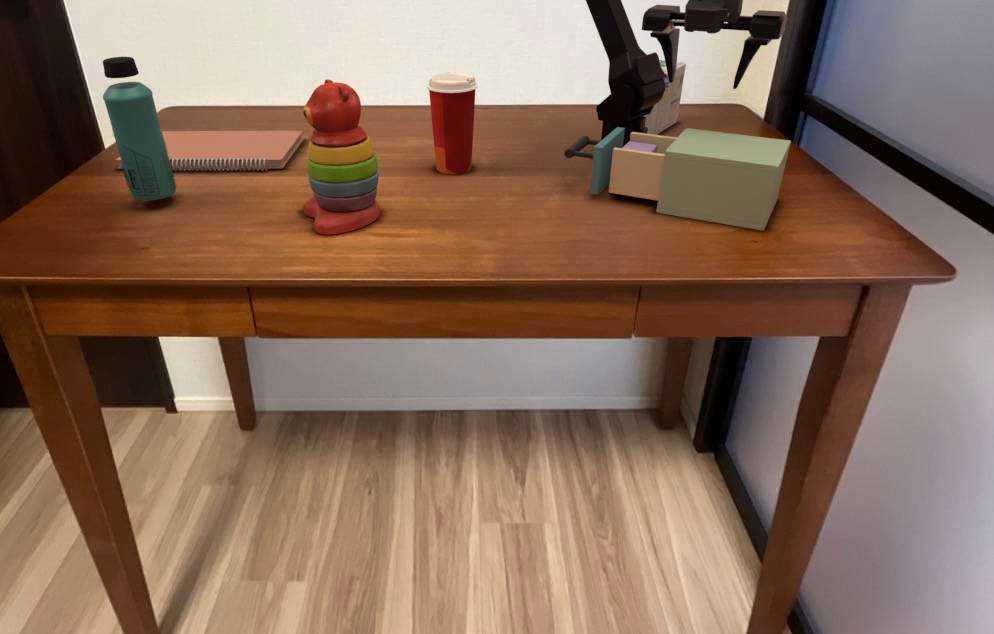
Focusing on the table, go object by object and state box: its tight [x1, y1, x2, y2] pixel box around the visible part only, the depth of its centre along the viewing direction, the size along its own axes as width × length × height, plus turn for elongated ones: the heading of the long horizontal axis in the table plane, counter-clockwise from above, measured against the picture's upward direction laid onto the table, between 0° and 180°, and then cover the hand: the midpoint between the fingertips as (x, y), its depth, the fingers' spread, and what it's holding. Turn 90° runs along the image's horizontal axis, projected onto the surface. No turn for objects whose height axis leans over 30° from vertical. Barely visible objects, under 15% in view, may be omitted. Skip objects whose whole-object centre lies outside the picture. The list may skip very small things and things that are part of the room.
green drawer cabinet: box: [655, 127, 792, 232], centre depth 98 cm, size 14×12×9 cm
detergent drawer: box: [564, 127, 678, 202], centre depth 103 cm, size 18×10×7 cm, turn 62°
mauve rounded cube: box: [623, 141, 658, 153], centre depth 102 cm, size 4×4×5 cm
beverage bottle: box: [102, 56, 178, 202], centre depth 99 cm, size 6×7×20 cm
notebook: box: [114, 130, 305, 172], centre depth 122 cm, size 27×17×2 cm, turn 88°
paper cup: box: [426, 72, 479, 175], centre depth 111 cm, size 8×8×14 cm
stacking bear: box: [302, 78, 381, 235], centre depth 94 cm, size 11×10×18 cm
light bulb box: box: [644, 59, 687, 135], centre depth 130 cm, size 11×7×11 cm, turn 144°
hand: (702, 85), depth 105 cm, fingers open, 9 cm apart
